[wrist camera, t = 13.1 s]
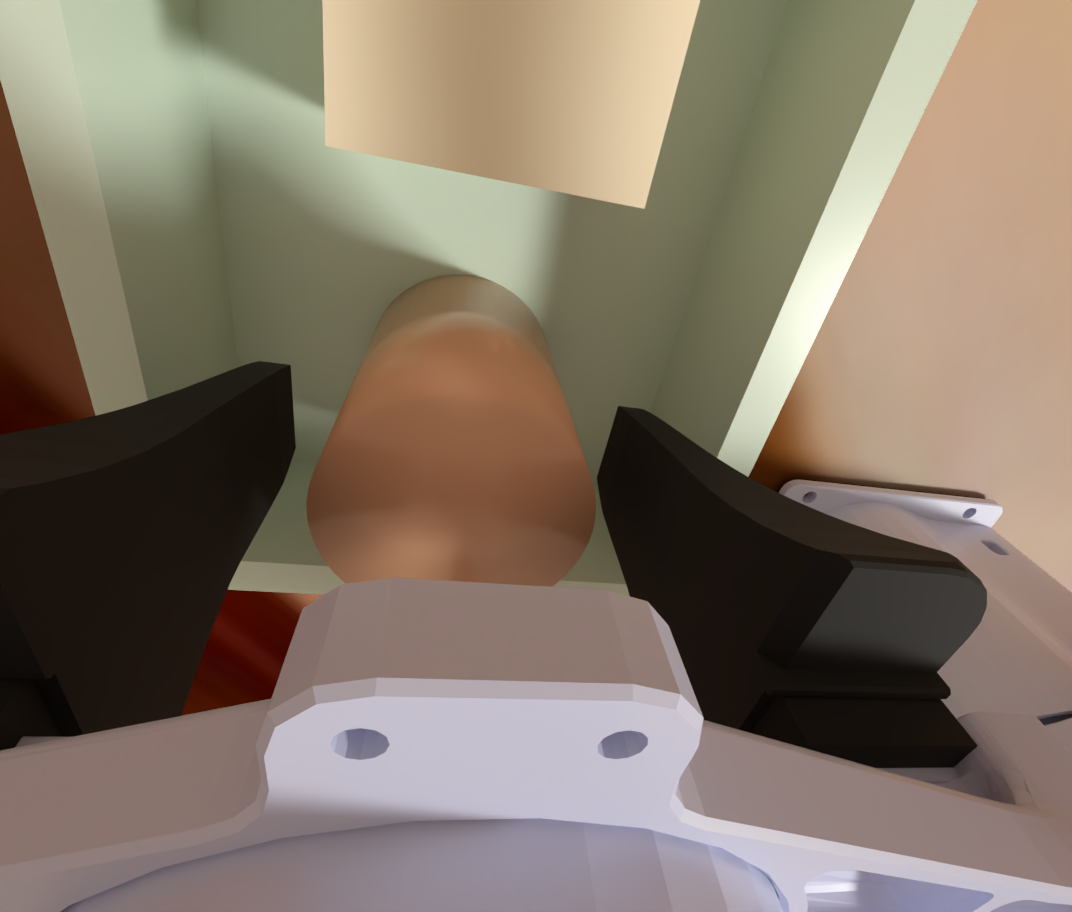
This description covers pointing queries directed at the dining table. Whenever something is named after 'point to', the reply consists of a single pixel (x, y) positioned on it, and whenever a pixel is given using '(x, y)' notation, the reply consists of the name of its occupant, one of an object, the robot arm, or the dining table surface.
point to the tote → (453, 220)
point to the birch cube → (509, 87)
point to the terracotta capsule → (453, 448)
